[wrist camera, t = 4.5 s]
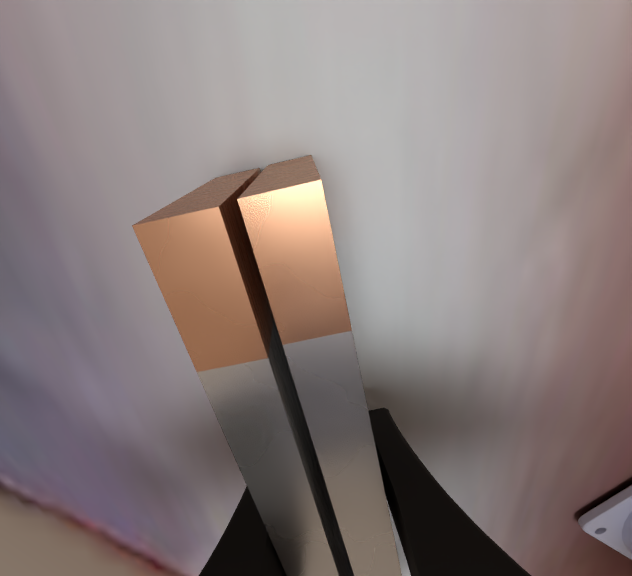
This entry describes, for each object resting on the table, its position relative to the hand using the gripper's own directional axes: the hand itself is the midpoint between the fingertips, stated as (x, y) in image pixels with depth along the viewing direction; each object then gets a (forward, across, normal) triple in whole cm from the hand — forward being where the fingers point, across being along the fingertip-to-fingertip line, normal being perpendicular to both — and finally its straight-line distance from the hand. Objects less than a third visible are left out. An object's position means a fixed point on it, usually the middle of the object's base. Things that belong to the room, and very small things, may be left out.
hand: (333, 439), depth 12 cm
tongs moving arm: (+1, +1, -1) cm, 1 cm away
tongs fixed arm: (+1, 0, +1) cm, 2 cm away
